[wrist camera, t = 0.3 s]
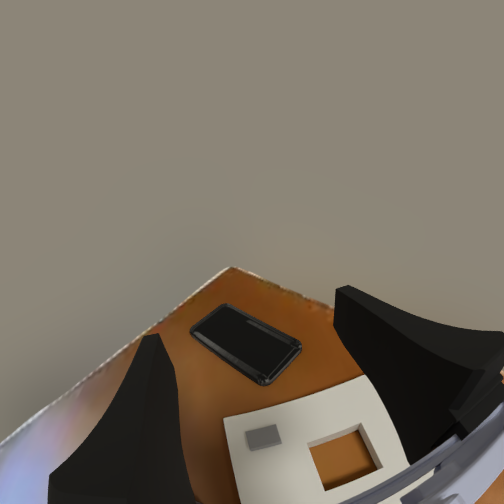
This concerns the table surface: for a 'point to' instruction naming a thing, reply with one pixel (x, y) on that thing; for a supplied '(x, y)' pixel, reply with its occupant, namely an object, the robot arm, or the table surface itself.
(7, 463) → the table surface
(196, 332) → the phone
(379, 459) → the socket plate
